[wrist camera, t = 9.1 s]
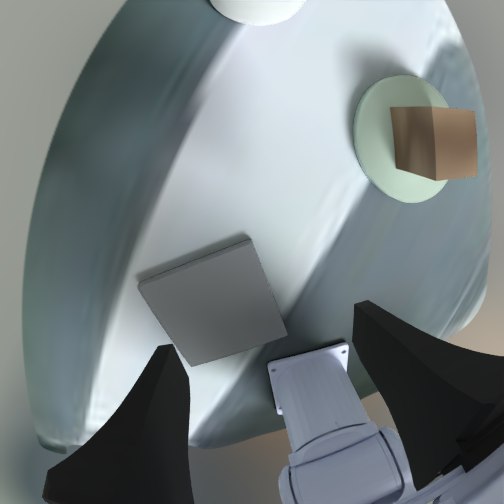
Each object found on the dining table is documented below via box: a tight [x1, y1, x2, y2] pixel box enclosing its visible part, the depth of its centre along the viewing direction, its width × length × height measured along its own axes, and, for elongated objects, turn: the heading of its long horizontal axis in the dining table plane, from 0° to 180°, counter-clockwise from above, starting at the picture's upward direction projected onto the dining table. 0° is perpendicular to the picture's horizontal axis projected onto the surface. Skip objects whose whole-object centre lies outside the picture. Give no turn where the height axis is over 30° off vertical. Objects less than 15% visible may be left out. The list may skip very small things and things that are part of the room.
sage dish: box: [353, 75, 449, 203], centre depth 17 cm, size 10×10×1 cm
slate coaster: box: [137, 239, 288, 367], centre depth 21 cm, size 9×9×1 cm
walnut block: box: [390, 106, 477, 181], centre depth 15 cm, size 4×4×4 cm
